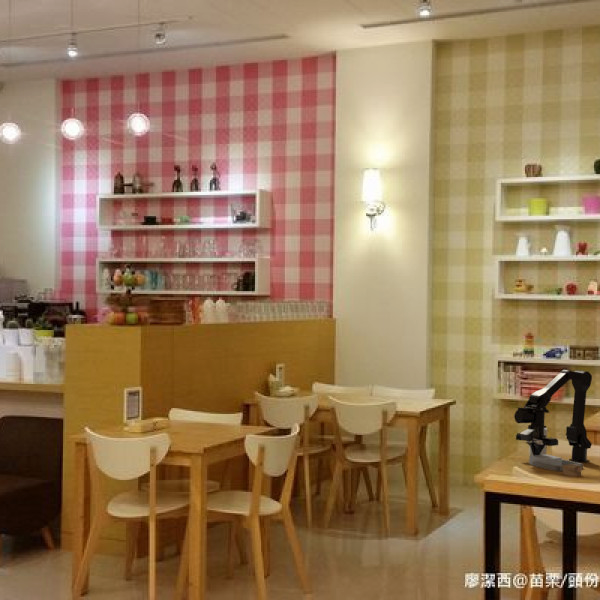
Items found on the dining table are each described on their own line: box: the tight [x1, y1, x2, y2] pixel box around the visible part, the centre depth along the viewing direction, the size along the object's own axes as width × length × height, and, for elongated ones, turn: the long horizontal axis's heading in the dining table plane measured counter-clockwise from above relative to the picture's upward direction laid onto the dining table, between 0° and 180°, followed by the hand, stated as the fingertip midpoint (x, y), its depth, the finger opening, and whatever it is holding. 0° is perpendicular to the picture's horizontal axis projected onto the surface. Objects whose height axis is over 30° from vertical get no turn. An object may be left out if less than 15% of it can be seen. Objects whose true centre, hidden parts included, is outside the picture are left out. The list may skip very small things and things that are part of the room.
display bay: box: [531, 459, 584, 473], centre depth 381 cm, size 16×13×2 cm
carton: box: [528, 453, 563, 466], centre depth 384 cm, size 10×9×4 cm
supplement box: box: [528, 427, 548, 456], centre depth 410 cm, size 7×7×13 cm
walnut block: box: [562, 464, 582, 477], centre depth 364 cm, size 5×5×4 cm
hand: (535, 459), depth 390 cm, fingers closed
